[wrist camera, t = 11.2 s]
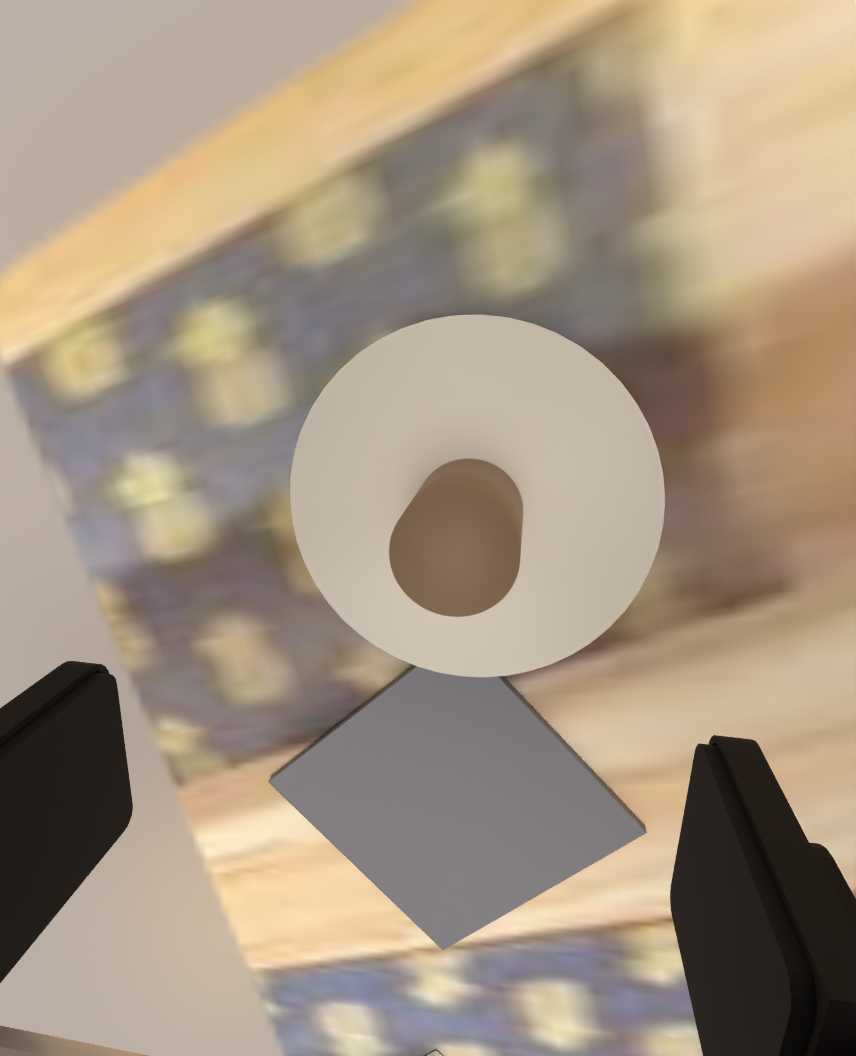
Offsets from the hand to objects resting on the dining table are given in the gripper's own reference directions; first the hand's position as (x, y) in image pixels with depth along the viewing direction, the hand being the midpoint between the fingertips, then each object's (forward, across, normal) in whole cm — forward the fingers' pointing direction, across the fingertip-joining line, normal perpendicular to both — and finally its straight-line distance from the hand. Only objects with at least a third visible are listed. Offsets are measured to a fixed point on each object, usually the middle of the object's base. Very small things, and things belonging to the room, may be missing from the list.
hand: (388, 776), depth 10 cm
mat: (+22, +1, +19) cm, 29 cm away
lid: (+16, 0, 0) cm, 16 cm away
